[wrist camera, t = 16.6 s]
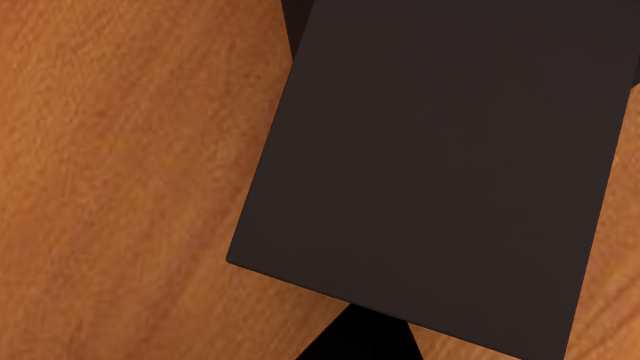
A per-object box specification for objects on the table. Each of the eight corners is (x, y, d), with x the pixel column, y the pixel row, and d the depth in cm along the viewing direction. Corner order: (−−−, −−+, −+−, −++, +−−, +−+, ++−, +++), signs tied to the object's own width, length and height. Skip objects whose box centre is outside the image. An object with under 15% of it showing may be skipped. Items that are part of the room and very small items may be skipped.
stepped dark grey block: (443, 323, 17) (562, 373, 8) (280, 270, 17) (223, 261, 9) (522, 42, 18) (698, -178, 10) (369, -2, 19) (401, -253, 10)
